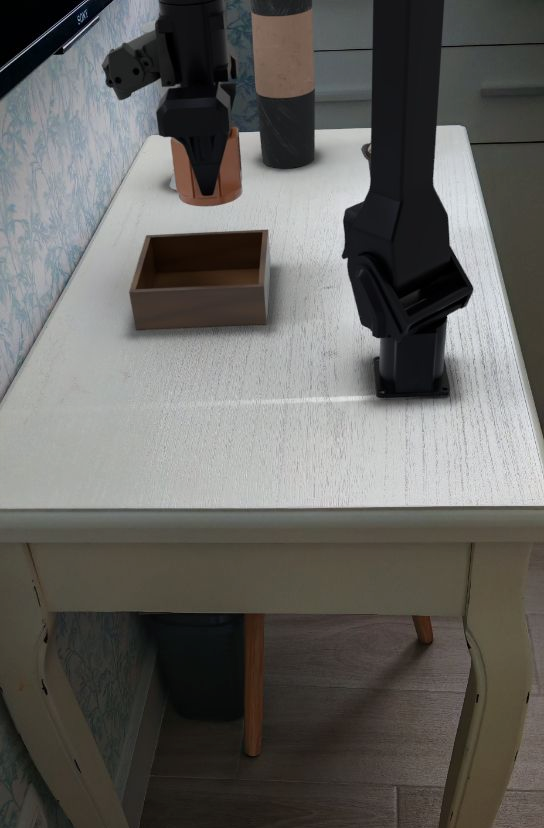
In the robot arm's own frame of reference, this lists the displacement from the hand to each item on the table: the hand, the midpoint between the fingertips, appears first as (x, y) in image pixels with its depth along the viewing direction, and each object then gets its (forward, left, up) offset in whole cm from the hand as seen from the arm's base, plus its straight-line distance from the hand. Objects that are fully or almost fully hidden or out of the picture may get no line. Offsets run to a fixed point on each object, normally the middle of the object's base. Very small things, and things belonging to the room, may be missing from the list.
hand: (209, 181), depth 91 cm
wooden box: (-3, +1, -11) cm, 11 cm away
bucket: (0, 0, -1) cm, 1 cm away
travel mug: (+37, -7, -11) cm, 39 cm away
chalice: (+30, +6, -11) cm, 33 cm away
